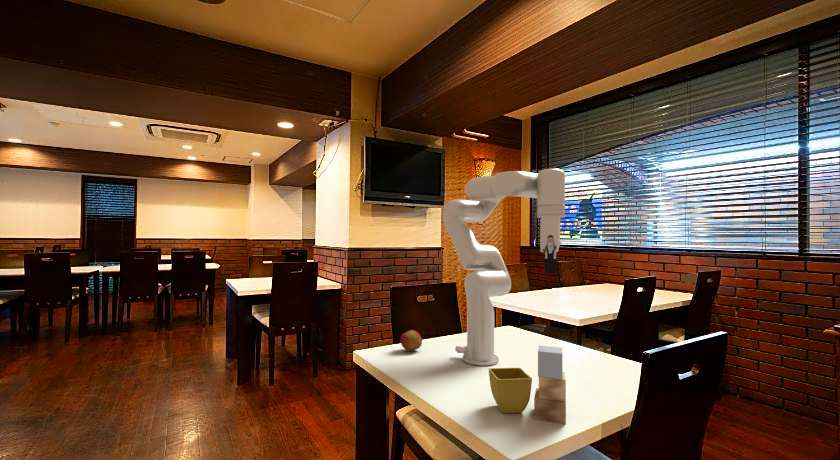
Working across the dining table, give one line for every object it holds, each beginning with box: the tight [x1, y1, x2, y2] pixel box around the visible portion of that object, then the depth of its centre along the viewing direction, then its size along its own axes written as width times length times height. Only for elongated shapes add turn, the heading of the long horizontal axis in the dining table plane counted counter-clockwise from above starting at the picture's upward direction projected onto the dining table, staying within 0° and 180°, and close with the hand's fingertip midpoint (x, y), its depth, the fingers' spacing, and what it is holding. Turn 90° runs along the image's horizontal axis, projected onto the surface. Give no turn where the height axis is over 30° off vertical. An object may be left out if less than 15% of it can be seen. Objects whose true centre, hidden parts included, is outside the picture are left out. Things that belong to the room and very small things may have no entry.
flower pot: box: [488, 367, 533, 414], centre depth 98 cm, size 9×9×9 cm
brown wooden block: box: [533, 387, 567, 425], centre depth 94 cm, size 7×7×5 cm
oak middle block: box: [538, 371, 567, 403], centre depth 94 cm, size 6×6×5 cm
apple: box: [399, 329, 423, 352], centre depth 148 cm, size 8×8×8 cm
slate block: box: [537, 345, 563, 379], centre depth 94 cm, size 6×6×6 cm
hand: (551, 272), depth 111 cm, fingers open, 9 cm apart
